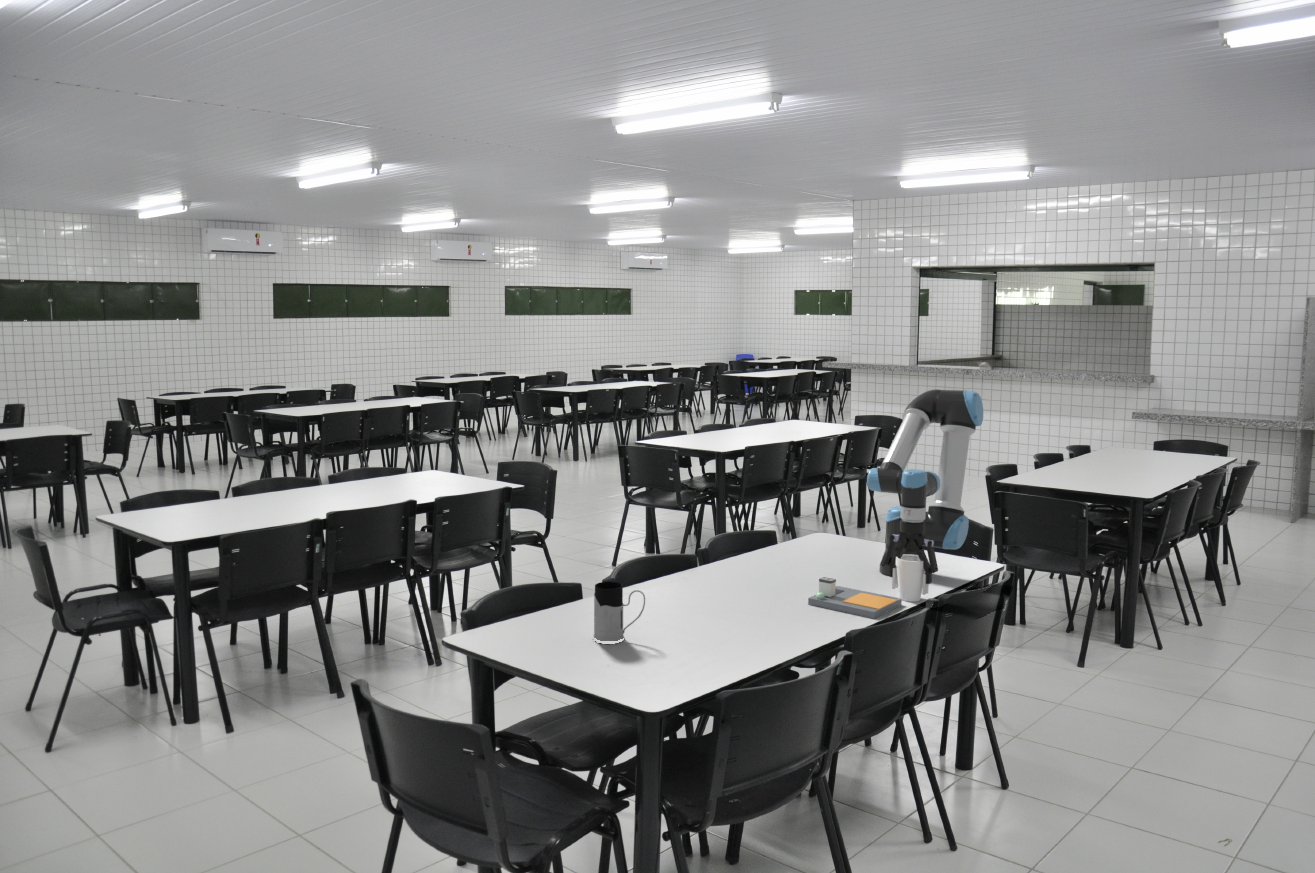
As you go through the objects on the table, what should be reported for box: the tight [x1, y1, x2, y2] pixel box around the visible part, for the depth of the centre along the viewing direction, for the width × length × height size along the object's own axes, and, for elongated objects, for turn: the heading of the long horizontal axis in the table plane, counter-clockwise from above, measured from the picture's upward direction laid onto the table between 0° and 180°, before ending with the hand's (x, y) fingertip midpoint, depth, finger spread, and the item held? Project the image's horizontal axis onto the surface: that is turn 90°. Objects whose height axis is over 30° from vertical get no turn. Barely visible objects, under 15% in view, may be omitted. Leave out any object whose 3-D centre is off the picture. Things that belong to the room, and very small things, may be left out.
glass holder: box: [593, 581, 646, 641], centre depth 260 cm, size 9×14×15 cm, turn 88°
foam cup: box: [896, 555, 926, 603], centre depth 300 cm, size 10×9×13 cm
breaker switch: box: [818, 576, 837, 597], centre depth 297 cm, size 3×4×5 cm
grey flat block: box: [807, 585, 903, 620], centre depth 294 cm, size 18×22×4 cm
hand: (910, 590), depth 301 cm, fingers closed on foam cup, 9 cm apart
